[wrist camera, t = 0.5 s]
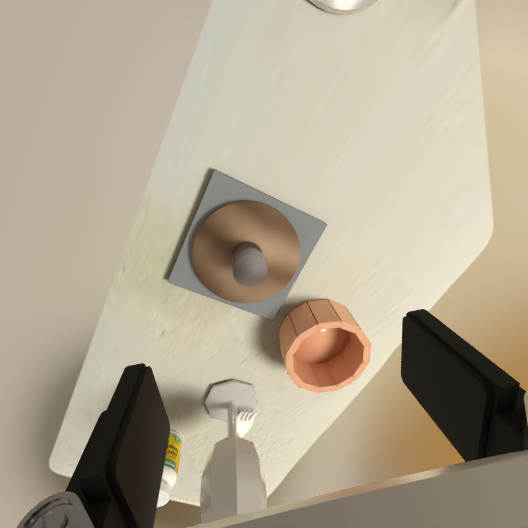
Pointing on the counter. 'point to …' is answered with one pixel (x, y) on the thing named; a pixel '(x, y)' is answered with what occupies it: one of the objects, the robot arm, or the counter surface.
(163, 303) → the counter surface
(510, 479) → the robot arm
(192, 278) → the mat
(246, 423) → the fork
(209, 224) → the lid
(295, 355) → the bowl
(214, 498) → the wineglass
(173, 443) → the supplement bottle
